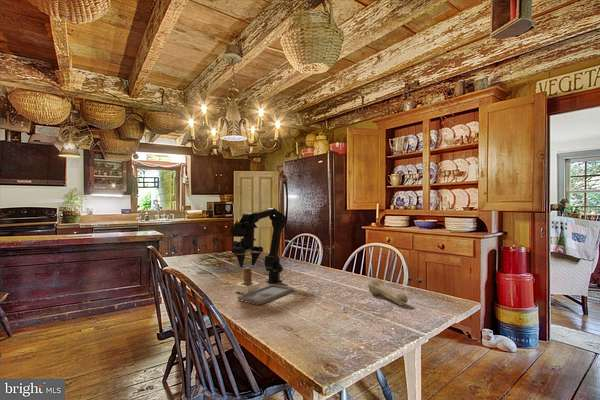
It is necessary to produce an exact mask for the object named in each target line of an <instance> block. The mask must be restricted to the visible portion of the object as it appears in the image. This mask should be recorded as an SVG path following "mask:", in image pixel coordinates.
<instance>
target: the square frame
mask: <svg viewBox="0 0 600 400" xmlns="http://www.w3.org/2000/svg"><path fill="white" fill-rule="evenodd" d="M259 288H261V283H260V282H257V281H252V285H249V286H246V285H244V281H241V282H238V283H235V286H234V290H235V291H236V292H235V293H237V292H241V293H240V294H242V293H248V292H251V291H254V290H256V289H259Z"/></svg>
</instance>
